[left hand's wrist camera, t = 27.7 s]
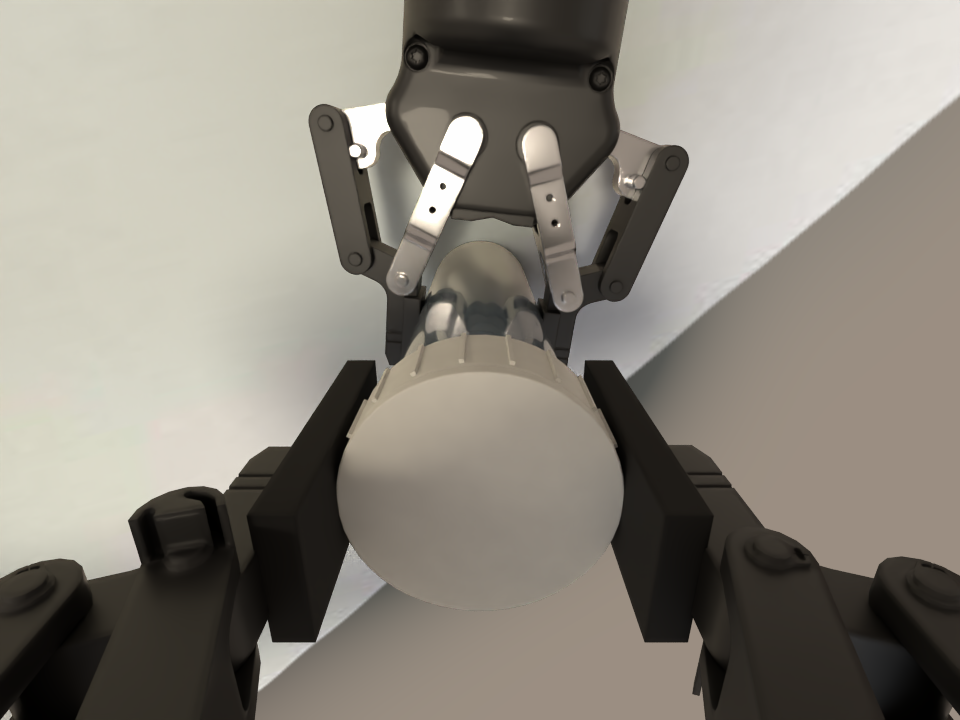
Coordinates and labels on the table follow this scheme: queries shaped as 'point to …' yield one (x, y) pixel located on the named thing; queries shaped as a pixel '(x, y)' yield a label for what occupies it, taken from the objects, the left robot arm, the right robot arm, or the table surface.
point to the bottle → (480, 299)
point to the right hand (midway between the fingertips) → (474, 377)
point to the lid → (480, 475)
